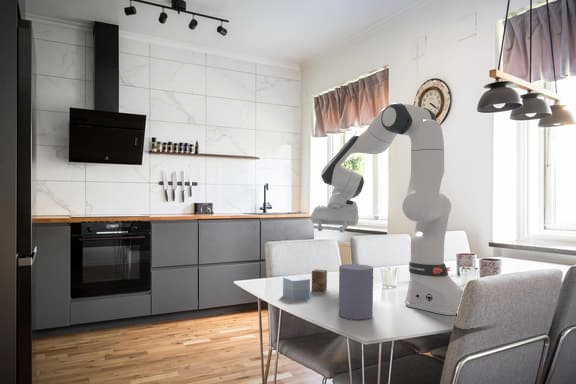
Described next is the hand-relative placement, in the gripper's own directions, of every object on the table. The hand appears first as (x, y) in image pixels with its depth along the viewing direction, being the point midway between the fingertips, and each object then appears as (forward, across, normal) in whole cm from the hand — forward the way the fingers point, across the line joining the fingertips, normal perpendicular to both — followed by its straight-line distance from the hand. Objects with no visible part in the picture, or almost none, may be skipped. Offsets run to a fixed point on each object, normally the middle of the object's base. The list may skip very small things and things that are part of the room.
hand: (330, 230), depth 176 cm
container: (+44, +22, -12) cm, 50 cm away
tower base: (+34, -4, -2) cm, 34 cm away
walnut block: (+25, 0, +7) cm, 26 cm away
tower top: (+32, -4, -4) cm, 32 cm away
